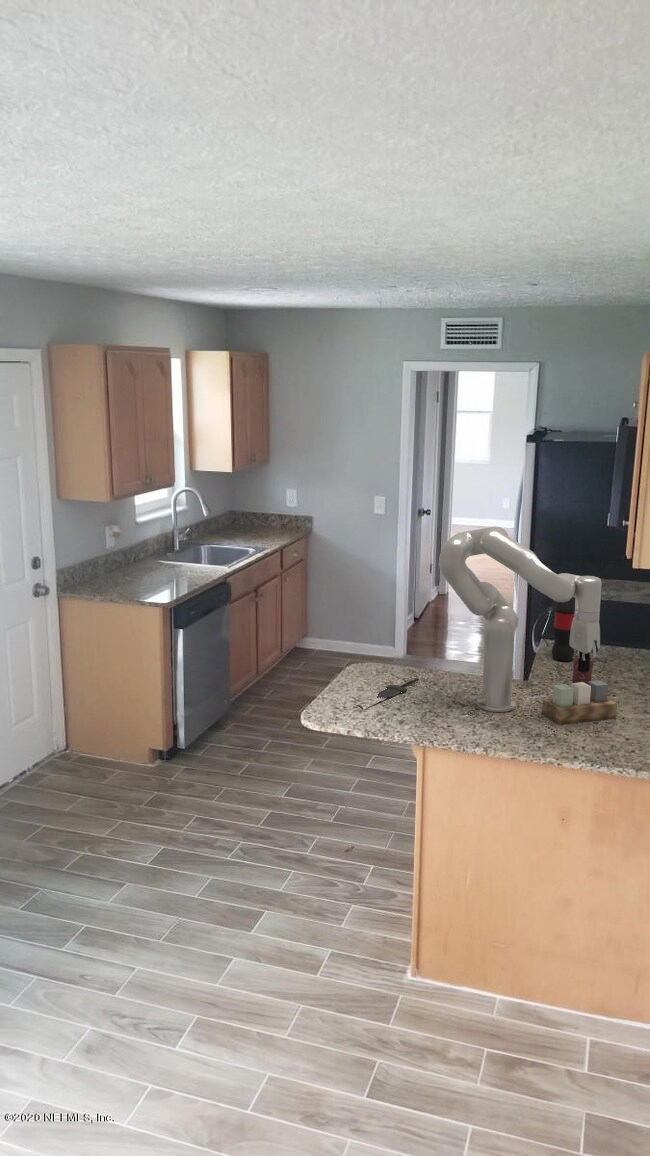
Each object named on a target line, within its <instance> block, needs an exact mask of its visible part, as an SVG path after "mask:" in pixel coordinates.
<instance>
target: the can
mask: <svg viewBox="0 0 650 1156" xmlns="http://www.w3.org/2000/svg"><path fill="white" fill-rule="evenodd" d="M593 668H594V658H591V660H590V667H589V672H582V673H581V672H579V671H578V658H577V654H576V655H574V657H573V670H572V680H571V681H572V682H571V683H579V682H584V683H585V684H587V685H588V682H589V681H592V677H593V675H592V674H593Z"/></svg>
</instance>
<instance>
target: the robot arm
mask: <svg viewBox="0 0 650 1156" xmlns="http://www.w3.org/2000/svg"><path fill="white" fill-rule="evenodd" d="M484 554H485V555H487V556H488V557H489V558H491V559H492V560H495V561H496V562H498V563H500V564H501V565H502V566H504V567H506V568H507V569H509V570H510V571H512V572H513V573H515V574H517V575H519V577H520V578H521V579H522V580H524V581H525V582H526V583H528V585H530V586H531V587H533V588H534V589H535V590H537V591H538V592H540V593H541V594H543V595H545V596H547V597H548V598H549V599H551V600H553V601H555V602H557V603H558V602H567V601H569V600H570V599H571V598H572V597H573V598H574V597H575V598H574V600H575V616H574V618H573V621H572V625H571V632H570V642H569V644H570V646H571V647H572V648H573V649H574V652H576V655H577V658H578V671H579V672H581V673H582V672H589V667H590V660H591V658H593V659H594V658H595V659H596V658H597V653H599V651H600V647H601V628H600V627H601V625H600V614H601V598H602V596H601V595H602V585H603V582H602V580H601V578H600V577H598V576H595V575H594V576H593V575H577V574H572V573H568V572H567V573H566V572H564V573H563V572H562V573H558V574H557V573H556V572H554V571H552V570H551V569H550V568H548V567H547V566H546V565H545V564H543V563H542V562H541V561H540V559H539V557H538V556H537V555H536V554H535V552H534V551H532V550H531V549H529V548H527V546H524V545H523V544H521V543H520V542H517V541H516V540H515V539H513V538H511V537H510V536H509V534H508V531H507V530H505V529H504V528H503V527H501V526H489V527H484V528H479V529H478V528H477V529H472V530H467V531H461V532H458V533H456V534H454V535H452V536H451V537H450V538H449V539H448V540H447V541H446V542H445V543H444V545H443V546H442V548H441V551H440V554H439V558H438V567H439V570H440V572H441V575H442V577H443V578H444V580H445V581H446V582H447V583H448V585H449V586H450V587H451V589H452V590H453V591H454V592H455V594H456V595H457V596H458V597H459V599H460V600H461V601H462V603H463V604H464V605H465V606H466V608H467V609H468V610H469V612H470V613H471V614H473V615H475V616H479V617H481V616H482V617H483V618H484V619H485V620H486V623H485V626H484V631H483V635H484V636H483V642H484V646H483V649H484V651H483V670H482V671H483V673H482V687H481V688H482V690H481V691H479V692H478V694H477V695H469V696H467V697H468V699H467V700H468V702H471V703H474V702H475V703H476V705H477V706H478V707H479V708H480V709H482V710H484V711H488V712H495V713H505V712H510V711H511V712H512V711H513V710H515V708H516V706H517V705H516V702H515V701H514V700H513V699H512V693H513V691H512V689H513V671H514V660H515V659H514V655H515V635H516V631H517V628H518V626H519V625H518V624H519V617H518V615H517V613H516V611H515V610H514V609H513V607H512V605H511V604H510V603H509V602H508V601H507V599H506V598H505V597H504V596H503V595H502V593H501V592H500V591H499V589H498V588H496V587H495V586H494V584H492V583H489V582H487V581H481V580H480V579H479V578H478V577H477V576H476V574H475V572H474V571H473V570H472V569H471V568H470V567H468V565H467V563H466V561H467V559H468V558H469V557H473V556H478V555H479V556H480V555H484Z"/></svg>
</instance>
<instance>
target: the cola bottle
mask: <svg viewBox="0 0 650 1156" xmlns="http://www.w3.org/2000/svg"><path fill="white" fill-rule="evenodd" d="M574 616H575V598H574V596H573V597H572V598H571V599H570V600H569V601H567V602H558V601H557V603H556V605H555V607H554V621H553V622H554V623H553V624H554V625H553V638H554V642H553V646H552V649H551V654H552V655H551V656H552V657H553V660H554V659H555V660H556V661H559V662H570V661H571V660H573V659H574V657H575V650H574V649H573V648H572V647H571V646H570V644H569V642H570V632H571V625H572V621H573V618H574Z"/></svg>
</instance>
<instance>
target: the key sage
mask: <svg viewBox="0 0 650 1156" xmlns="http://www.w3.org/2000/svg"><path fill="white" fill-rule="evenodd" d="M552 690H553V691H552V698H553V703H554V704H556V705H557V706H559V707H565V706H572V703H573V690H574V688H572V687H571V685H568V684H565V683H561V684H553V689H552Z"/></svg>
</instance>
